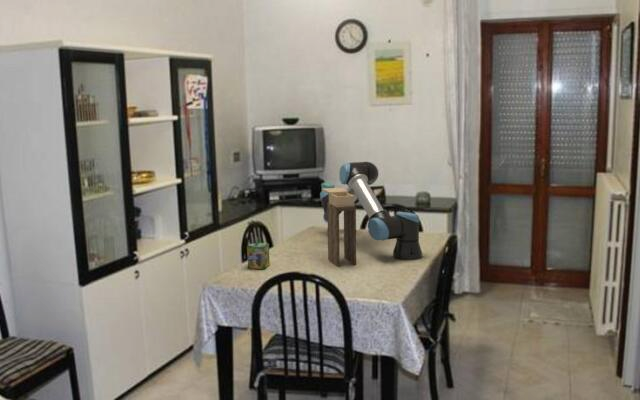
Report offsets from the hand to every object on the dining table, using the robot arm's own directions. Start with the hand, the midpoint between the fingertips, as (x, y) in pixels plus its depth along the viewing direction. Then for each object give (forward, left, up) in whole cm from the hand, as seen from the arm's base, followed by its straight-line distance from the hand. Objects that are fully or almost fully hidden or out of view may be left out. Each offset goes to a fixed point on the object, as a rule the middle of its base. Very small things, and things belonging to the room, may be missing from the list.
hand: (345, 195), depth 352 cm
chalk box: (+20, +58, -29) cm, 68 cm away
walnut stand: (-14, +33, -29) cm, 46 cm away
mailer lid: (-3, +22, +7) cm, 24 cm away
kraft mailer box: (-14, +33, +1) cm, 36 cm away
